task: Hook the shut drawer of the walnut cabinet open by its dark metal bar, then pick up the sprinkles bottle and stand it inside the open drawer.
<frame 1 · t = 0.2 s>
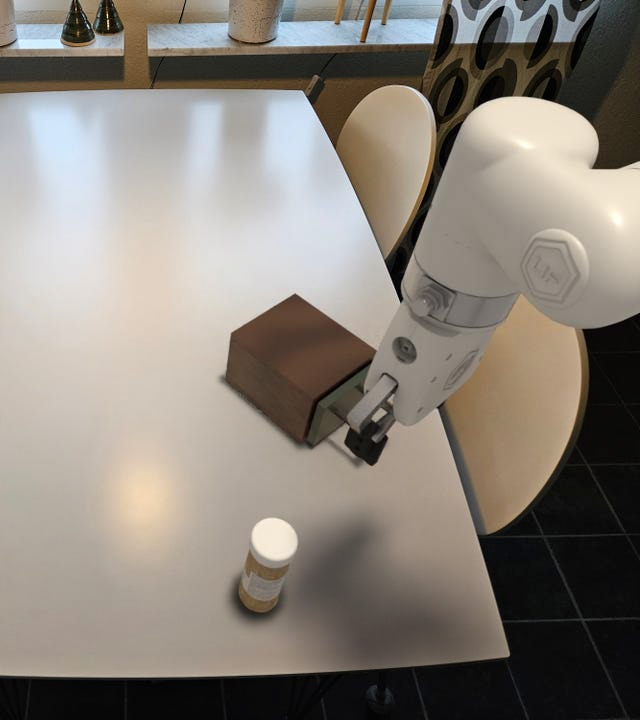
hand: (393, 425, 58), 24 cm above the table, tool pointing down, fingers open, 9 cm apart
drawer: (325, 387, 86), point 5 cm above the table, slide at 0.3 cm
cabinet: (292, 388, 92), on the table
sprinkles bottle: (258, 594, 72), on the table
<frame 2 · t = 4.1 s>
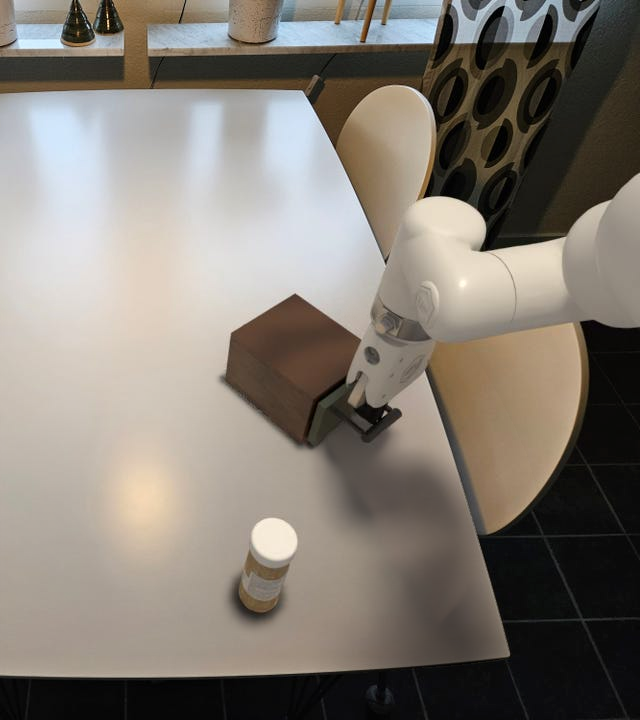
hand: (366, 414, 82), 6 cm above the table, tool pointing down, fingers closed
drawer: (325, 387, 86), point 5 cm above the table, slide at 0.4 cm, touching gripper
everything else where it was.
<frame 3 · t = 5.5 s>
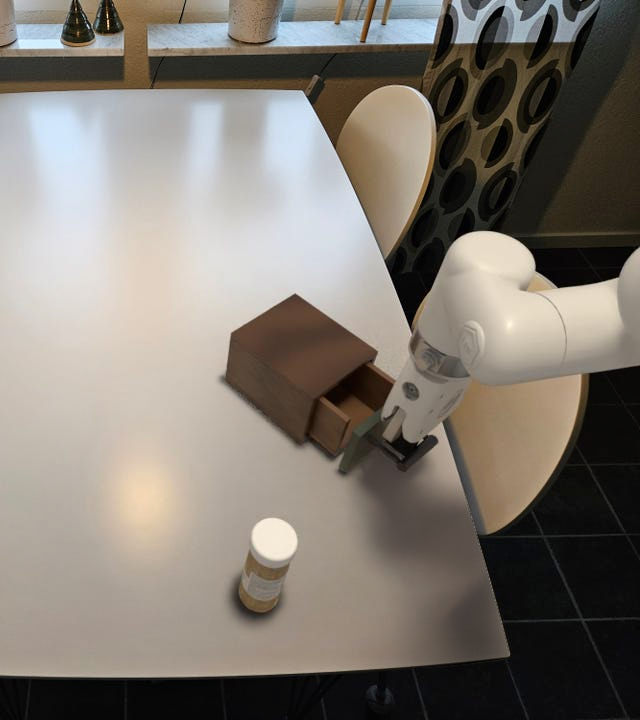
hand: (399, 446, 80), 5 cm above the table, tool pointing down, fingers closed
drawer: (357, 412, 83), point 5 cm above the table, slide at 5.7 cm, touching gripper
everything else where it was.
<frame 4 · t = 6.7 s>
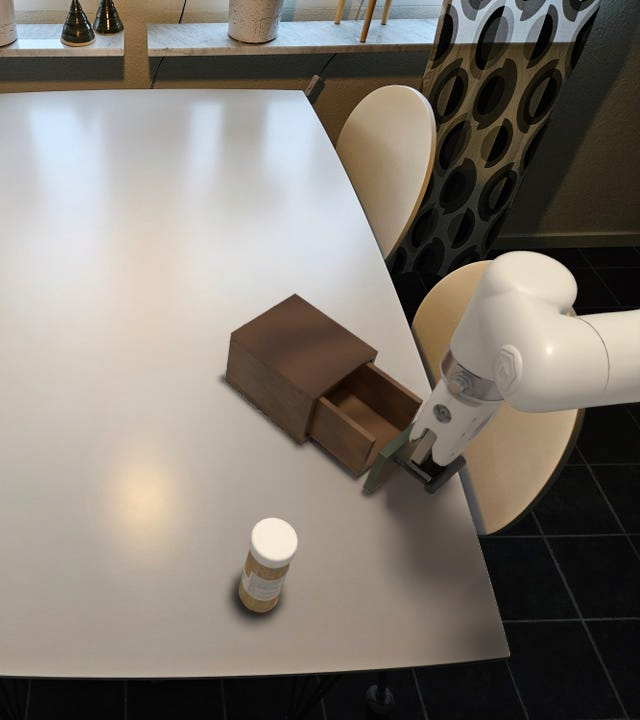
hand: (425, 466, 78), 5 cm above the table, tool pointing down, fingers closed
drawer: (381, 431, 81), point 5 cm above the table, slide at 9.6 cm, touching gripper
everything else where it was.
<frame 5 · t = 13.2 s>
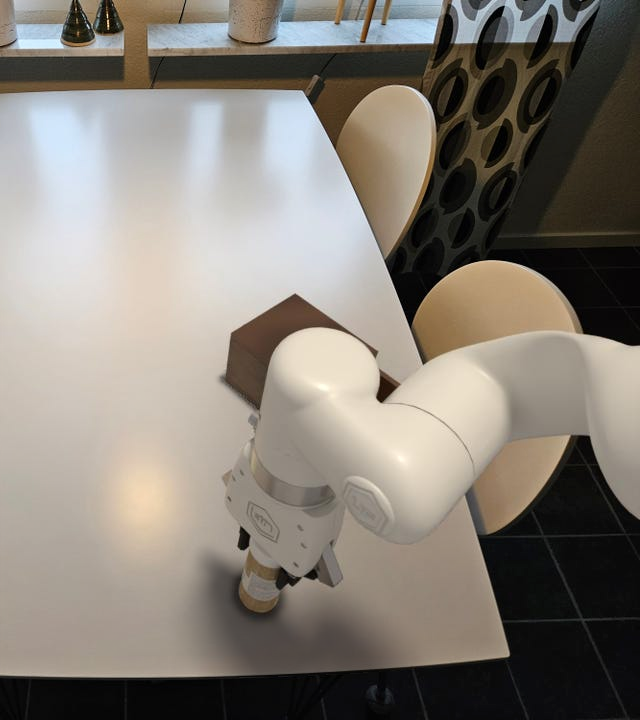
hand: (268, 559, 65), 9 cm above the table, tool pointing down, fingers closed on sprinkles bottle, 4 cm apart
drawer: (384, 433, 81), point 5 cm above the table, slide at 9.9 cm
sprinkles bottle: (258, 594, 72), on the table, touching gripper
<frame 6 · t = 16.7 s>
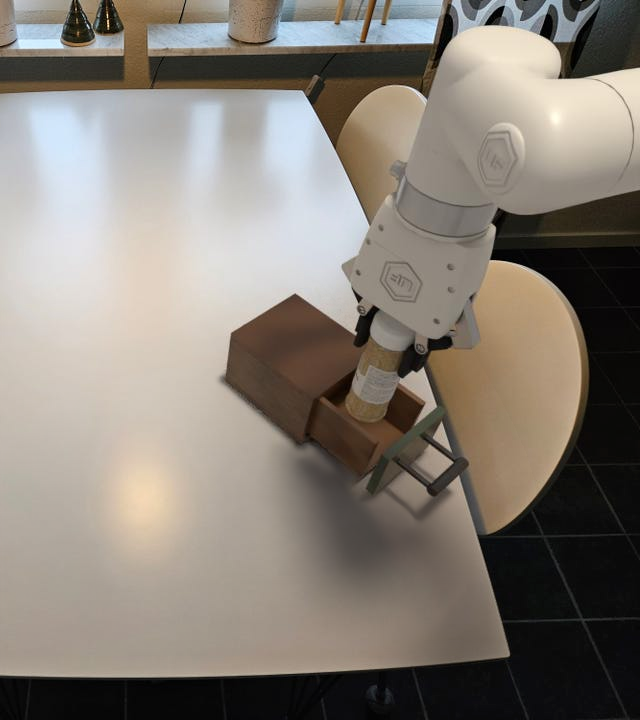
hand: (386, 353, 65), 23 cm above the table, tool pointing down, fingers closed on sprinkles bottle, 4 cm apart
sprinkles bottle: (364, 409, 71), point 14 cm above the table, touching gripper
everything else where it was.
when the fingers open (11 cm above the table, at t = 20.4 s): sprinkles bottle stays where it is, resting on drawer.
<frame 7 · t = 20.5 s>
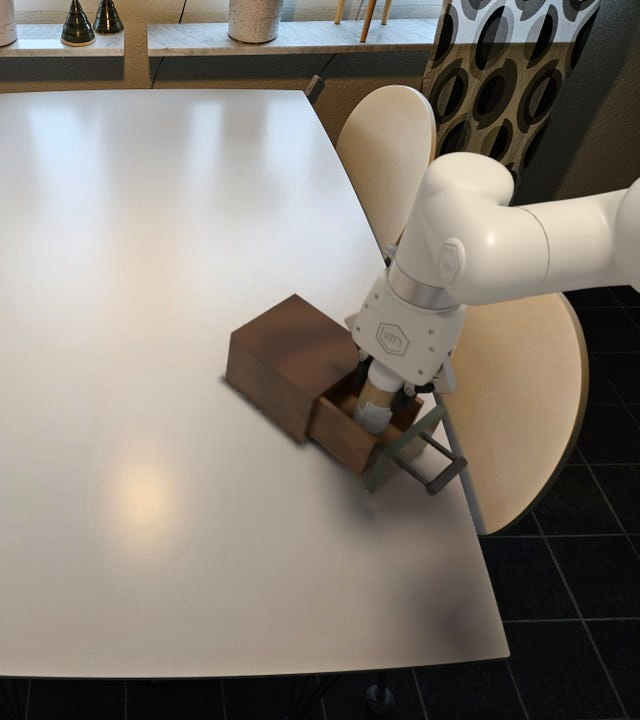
hand: (381, 392, 78), 11 cm above the table, tool pointing down, fingers open, 4 cm apart
drawer: (382, 432, 81), point 5 cm above the table, slide at 9.8 cm, touching sprinkles bottle
sprinkles bottle: (363, 435, 84), point 2 cm above the table, touching drawer
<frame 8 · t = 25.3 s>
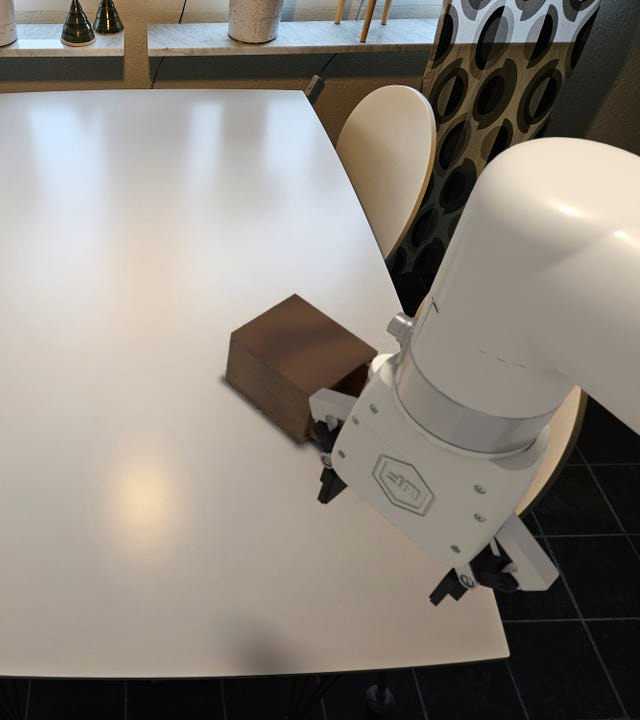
hand: (386, 538, 46), 28 cm above the table, tool pointing down, fingers open, 9 cm apart
nothing on the table moved.
at the end: drawer slide at 9.8 cm; sprinkles bottle inside the target area in the drawer (0.1 cm from its centre), point 1.8 cm above the cabinet's base; sprinkles bottle tilted 0° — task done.
